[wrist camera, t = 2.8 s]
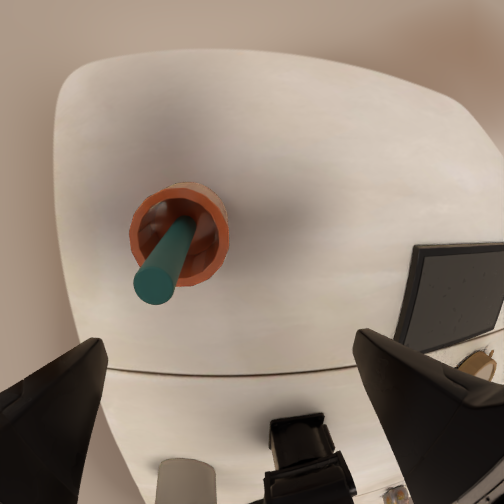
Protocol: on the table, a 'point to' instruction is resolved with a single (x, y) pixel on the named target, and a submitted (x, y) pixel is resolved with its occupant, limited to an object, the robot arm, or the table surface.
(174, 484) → the cup
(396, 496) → the mug
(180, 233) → the stylus
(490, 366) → the alarm clock
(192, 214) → the pen pot
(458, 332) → the tablet
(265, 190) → the table surface
